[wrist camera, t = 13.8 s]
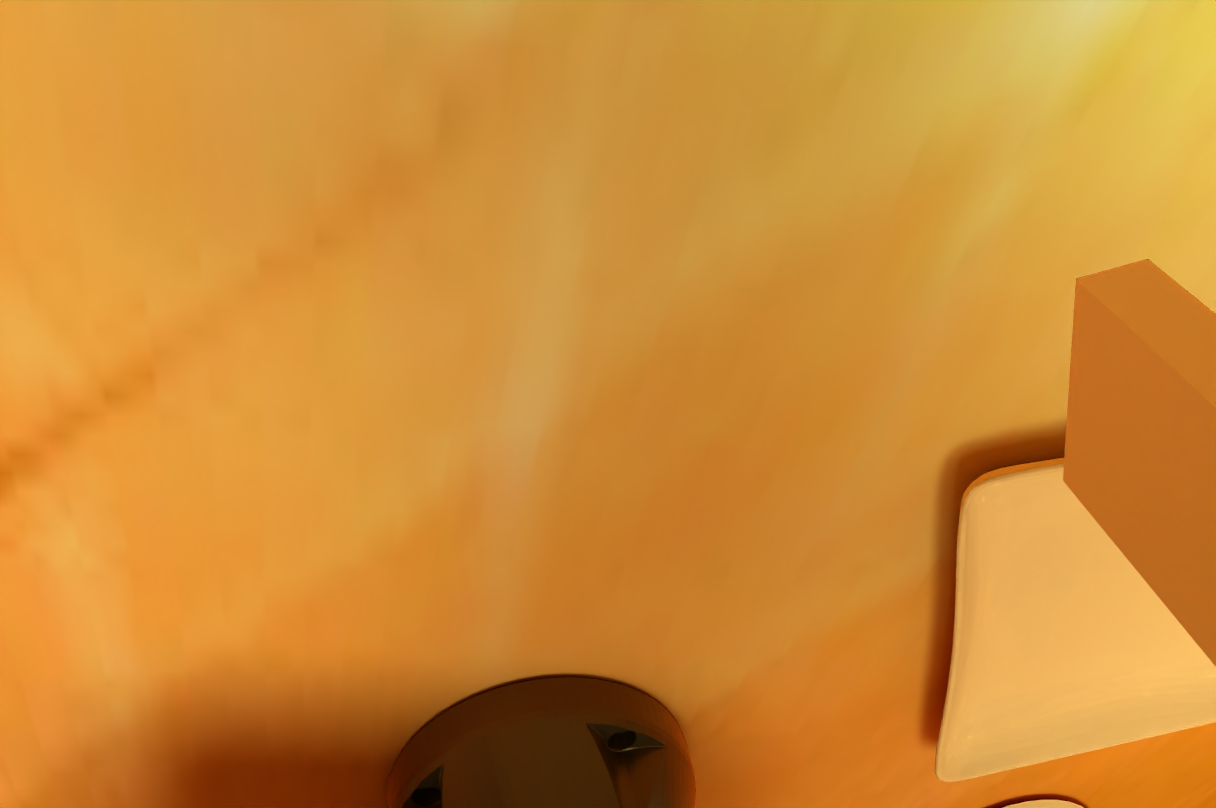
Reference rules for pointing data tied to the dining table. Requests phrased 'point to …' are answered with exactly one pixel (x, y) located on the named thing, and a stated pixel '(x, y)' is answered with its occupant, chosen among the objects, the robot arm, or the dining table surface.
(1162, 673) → the salad plate
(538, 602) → the dining table surface
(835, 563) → the dining table surface
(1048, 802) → the pudding
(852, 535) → the dining table surface
